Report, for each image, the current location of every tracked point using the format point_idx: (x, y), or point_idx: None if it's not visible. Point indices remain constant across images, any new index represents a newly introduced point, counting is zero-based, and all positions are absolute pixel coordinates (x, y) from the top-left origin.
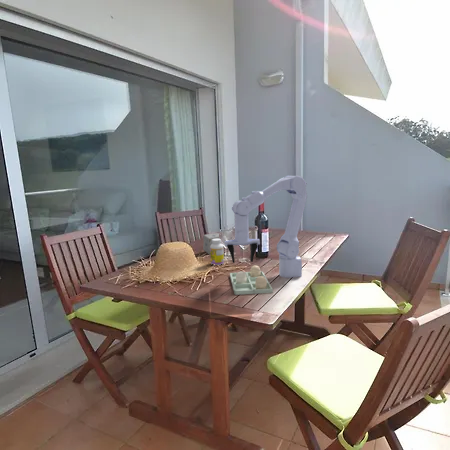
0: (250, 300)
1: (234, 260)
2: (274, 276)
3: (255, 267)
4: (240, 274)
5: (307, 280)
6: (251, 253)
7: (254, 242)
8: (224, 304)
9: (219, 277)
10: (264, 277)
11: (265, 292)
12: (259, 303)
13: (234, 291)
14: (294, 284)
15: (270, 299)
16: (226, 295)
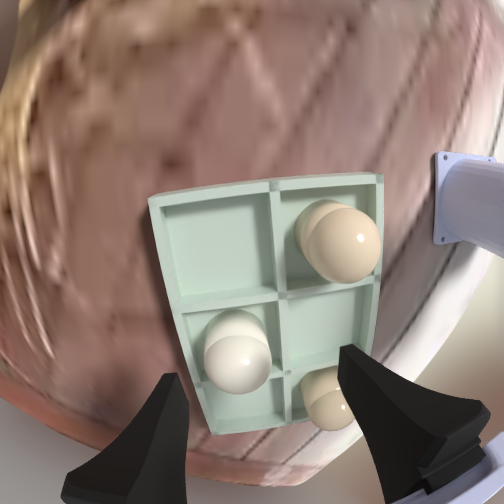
0: (268, 433)
1: (188, 423)
2: (419, 187)
3: (355, 278)
4: (236, 394)
5: None
6: (369, 430)
7: (454, 491)
8: (186, 450)
9: (91, 189)
10: (354, 418)
11: None
12: (293, 442)
13: (210, 429)
14: (452, 294)
15: None
16: None
